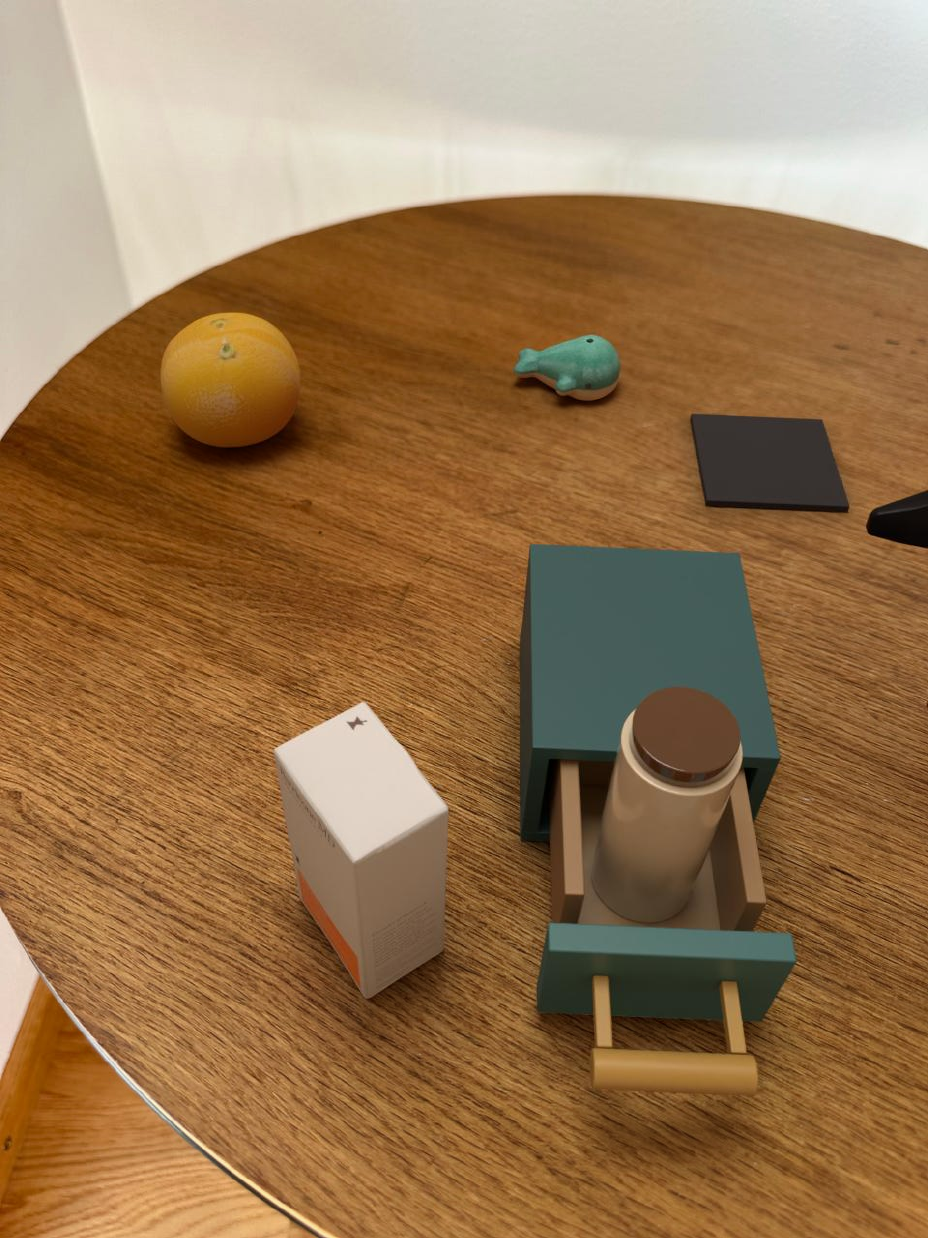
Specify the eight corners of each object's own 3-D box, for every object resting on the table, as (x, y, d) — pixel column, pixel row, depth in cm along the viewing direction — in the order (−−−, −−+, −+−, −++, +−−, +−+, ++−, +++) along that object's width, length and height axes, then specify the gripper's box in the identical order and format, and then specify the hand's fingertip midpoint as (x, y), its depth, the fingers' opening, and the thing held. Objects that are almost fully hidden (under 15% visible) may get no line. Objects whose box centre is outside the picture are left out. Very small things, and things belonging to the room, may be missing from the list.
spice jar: (687, 833, 50) (740, 682, 42) (699, 926, 47) (757, 782, 38) (588, 828, 50) (620, 677, 42) (592, 921, 47) (629, 777, 38)
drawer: (778, 1130, 42) (819, 1076, 38) (537, 1119, 42) (551, 1064, 38) (725, 790, 53) (752, 718, 48) (533, 781, 53) (543, 709, 48)
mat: (820, 424, 74) (822, 418, 74) (847, 512, 68) (849, 506, 68) (690, 418, 74) (691, 413, 74) (705, 505, 68) (707, 499, 68)
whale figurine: (610, 416, 74) (617, 369, 71) (506, 398, 75) (509, 351, 72) (622, 369, 78) (629, 323, 75) (523, 352, 79) (527, 306, 76)
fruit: (189, 483, 68) (167, 377, 62) (159, 411, 73) (136, 306, 67) (321, 450, 71) (313, 345, 65) (284, 383, 76) (272, 279, 70)
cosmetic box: (295, 899, 49) (267, 744, 40) (375, 853, 51) (365, 694, 42) (366, 1007, 46) (352, 865, 37) (448, 954, 47) (454, 805, 39)
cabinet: (742, 851, 51) (781, 758, 46) (520, 841, 51) (532, 747, 46) (710, 651, 60) (739, 552, 54) (519, 642, 60) (529, 543, 54)
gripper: (1318, 270, 40) (890, 277, 41) (1699, 646, 27) (1068, 648, 28) (1182, 499, 48) (827, 502, 49) (1426, 872, 35) (942, 869, 36)
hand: (897, 604), depth 40 cm, fingers open, 9 cm apart
